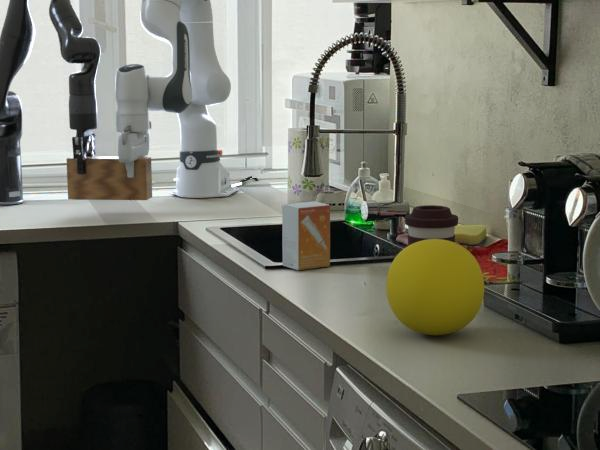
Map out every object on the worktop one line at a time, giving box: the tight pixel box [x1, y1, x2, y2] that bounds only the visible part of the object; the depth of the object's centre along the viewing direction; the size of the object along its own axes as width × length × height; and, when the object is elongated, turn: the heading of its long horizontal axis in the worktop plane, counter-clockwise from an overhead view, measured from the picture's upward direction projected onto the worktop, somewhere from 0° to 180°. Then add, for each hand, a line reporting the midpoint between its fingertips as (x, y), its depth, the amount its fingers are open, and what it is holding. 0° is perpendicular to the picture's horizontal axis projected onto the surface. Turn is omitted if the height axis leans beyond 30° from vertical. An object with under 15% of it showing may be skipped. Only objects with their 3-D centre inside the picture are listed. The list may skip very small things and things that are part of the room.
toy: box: [385, 239, 485, 336], centre depth 164 cm, size 15×15×15 cm
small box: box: [281, 200, 331, 271], centre depth 216 cm, size 8×6×13 cm
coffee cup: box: [404, 204, 459, 246], centre depth 197 cm, size 10×10×15 cm
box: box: [65, 155, 153, 201], centre depth 287 cm, size 22×6×11 cm, turn 84°
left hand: (85, 172), depth 287 cm, fingers closed on box, 6 cm apart
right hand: (134, 175), depth 286 cm, fingers closed on box, 6 cm apart
